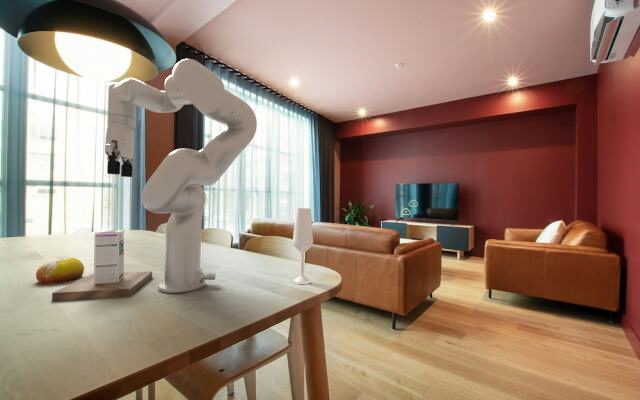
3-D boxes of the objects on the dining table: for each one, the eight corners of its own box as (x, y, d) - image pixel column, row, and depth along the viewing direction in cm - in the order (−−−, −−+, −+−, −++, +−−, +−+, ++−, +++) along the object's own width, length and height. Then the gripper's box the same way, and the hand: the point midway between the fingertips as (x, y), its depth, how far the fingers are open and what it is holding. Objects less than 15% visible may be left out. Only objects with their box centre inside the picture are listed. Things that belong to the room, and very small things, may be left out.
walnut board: (152, 277, 90) (152, 271, 90) (130, 296, 73) (130, 288, 73) (90, 280, 86) (91, 273, 86) (51, 300, 68) (52, 292, 68)
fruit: (66, 272, 93) (72, 250, 92) (88, 284, 90) (94, 261, 90) (23, 280, 82) (30, 255, 82) (47, 294, 79) (54, 268, 79)
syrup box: (118, 282, 78) (120, 231, 78) (92, 284, 75) (94, 232, 75) (123, 277, 83) (125, 229, 83) (99, 279, 80) (100, 229, 80)
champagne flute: (287, 282, 88) (289, 208, 88) (299, 277, 94) (301, 208, 94) (304, 286, 85) (306, 208, 85) (316, 281, 90) (317, 208, 91)
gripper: (120, 128, 97) (118, 177, 97) (94, 114, 80) (92, 172, 80) (144, 130, 99) (142, 178, 99) (124, 116, 82) (122, 173, 82)
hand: (120, 175), depth 89 cm, fingers open, 9 cm apart
